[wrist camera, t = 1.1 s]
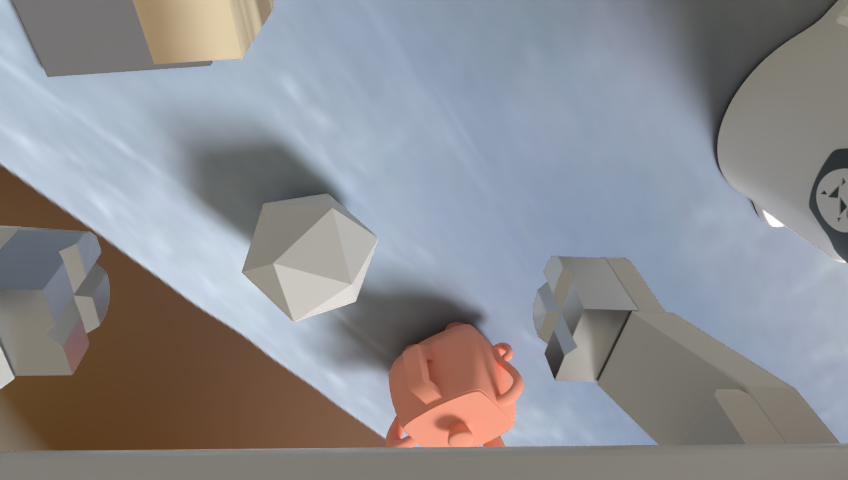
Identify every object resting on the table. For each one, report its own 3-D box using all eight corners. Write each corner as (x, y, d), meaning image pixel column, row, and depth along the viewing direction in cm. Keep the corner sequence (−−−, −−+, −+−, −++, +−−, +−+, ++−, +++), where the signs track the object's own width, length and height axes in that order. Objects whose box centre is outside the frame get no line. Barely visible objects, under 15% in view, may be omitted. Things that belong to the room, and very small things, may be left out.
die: (245, 172, 40) (203, 303, 36) (335, 157, 35) (296, 306, 32) (322, 219, 46) (291, 333, 43) (406, 212, 41) (380, 340, 38)
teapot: (488, 397, 57) (508, 484, 49) (377, 386, 54) (379, 476, 46) (527, 318, 50) (557, 404, 43) (403, 302, 48) (411, 390, 40)
